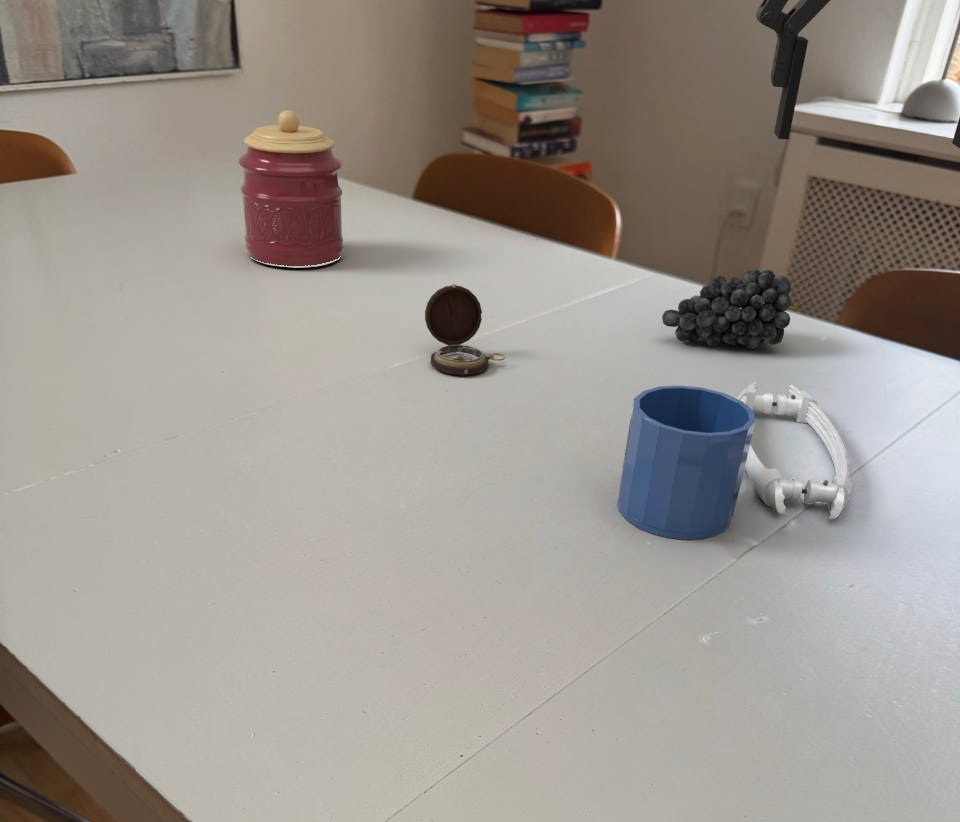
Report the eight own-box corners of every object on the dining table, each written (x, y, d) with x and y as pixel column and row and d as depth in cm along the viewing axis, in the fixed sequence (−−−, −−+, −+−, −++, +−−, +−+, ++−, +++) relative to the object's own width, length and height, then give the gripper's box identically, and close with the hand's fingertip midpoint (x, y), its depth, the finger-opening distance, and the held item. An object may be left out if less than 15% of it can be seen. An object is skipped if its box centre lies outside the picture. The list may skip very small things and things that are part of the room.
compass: (437, 378, 103) (439, 307, 99) (423, 350, 109) (424, 283, 105) (511, 375, 105) (517, 306, 101) (493, 348, 111) (498, 282, 107)
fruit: (674, 265, 109) (809, 268, 110) (657, 269, 117) (783, 271, 118) (668, 348, 112) (799, 350, 113) (652, 346, 120) (775, 348, 121)
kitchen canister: (363, 255, 137) (361, 112, 127) (302, 277, 128) (295, 124, 117) (288, 237, 142) (281, 98, 132) (225, 257, 133) (212, 108, 122)
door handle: (816, 408, 103) (865, 527, 83) (720, 399, 103) (745, 515, 83) (823, 383, 101) (875, 498, 81) (725, 374, 102) (752, 486, 82)
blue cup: (727, 490, 87) (749, 392, 81) (735, 545, 79) (760, 441, 74) (618, 478, 87) (634, 380, 82) (616, 532, 80) (633, 427, 74)
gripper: (770, -237, 62) (710, 140, 74) (1189, -222, 60) (1055, 161, 73) (756, -224, 68) (703, 123, 81) (1137, -210, 66) (1022, 142, 79)
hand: (870, 142), depth 77 cm, fingers open, 13 cm apart
